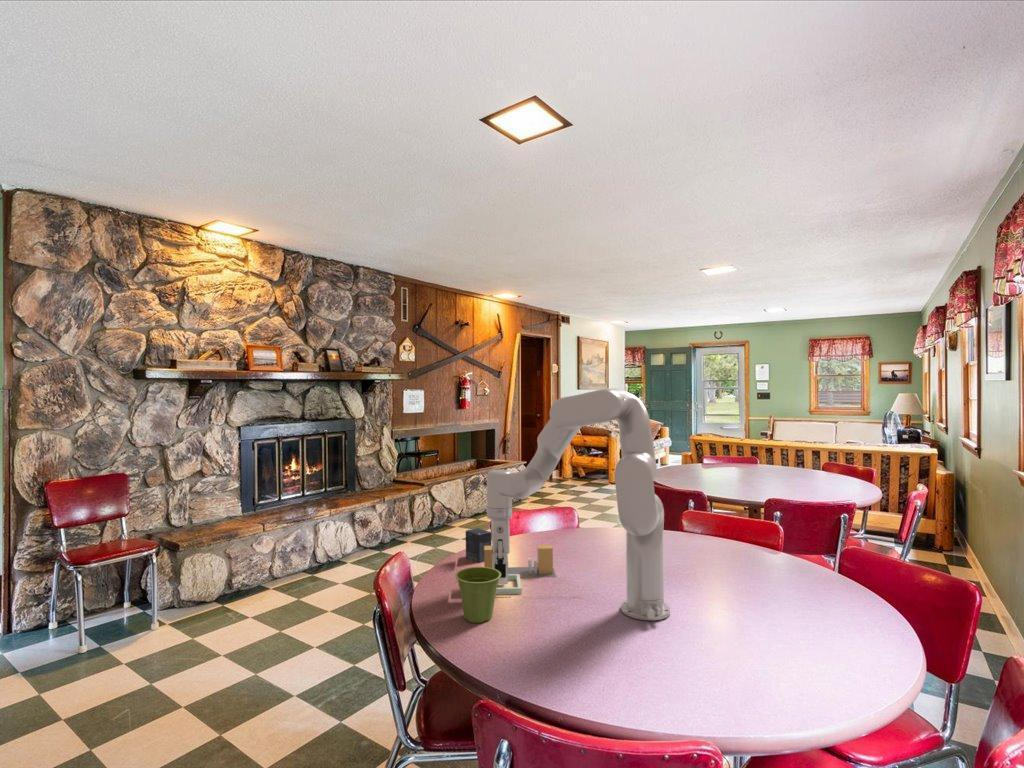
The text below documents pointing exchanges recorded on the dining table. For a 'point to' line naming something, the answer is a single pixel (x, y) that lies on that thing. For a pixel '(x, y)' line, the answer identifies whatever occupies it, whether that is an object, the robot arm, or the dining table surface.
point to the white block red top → (504, 580)
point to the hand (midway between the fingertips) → (500, 573)
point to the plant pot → (478, 592)
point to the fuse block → (529, 563)
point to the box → (477, 544)
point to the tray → (511, 589)
